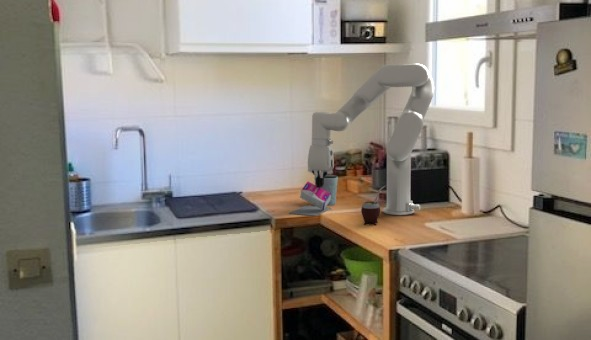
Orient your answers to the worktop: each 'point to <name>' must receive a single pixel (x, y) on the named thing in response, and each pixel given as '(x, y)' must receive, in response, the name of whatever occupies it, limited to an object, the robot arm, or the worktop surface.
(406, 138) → the robot arm
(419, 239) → the worktop surface
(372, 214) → the mate gourd
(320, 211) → the mat
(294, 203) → the worktop surface
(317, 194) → the supplement box
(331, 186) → the grey plant pot
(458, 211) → the worktop surface
